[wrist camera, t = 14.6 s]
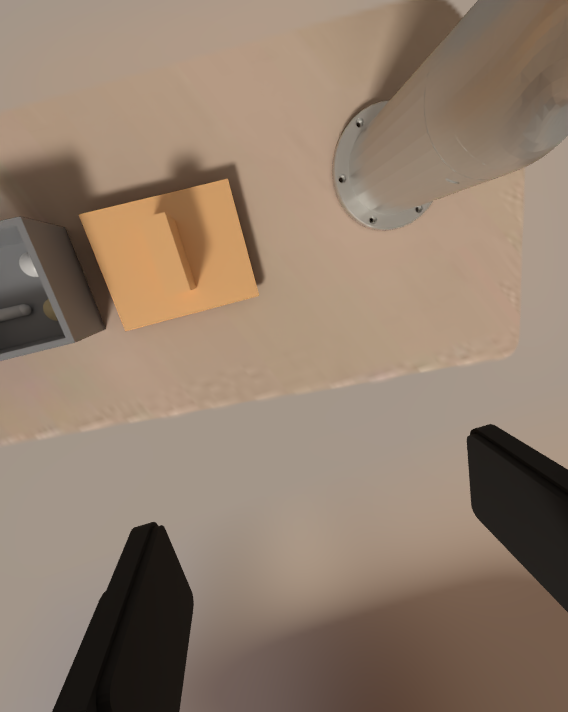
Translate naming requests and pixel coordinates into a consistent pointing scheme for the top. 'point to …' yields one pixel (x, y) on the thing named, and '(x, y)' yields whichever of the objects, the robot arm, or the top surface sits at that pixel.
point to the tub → (41, 290)
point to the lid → (172, 254)
